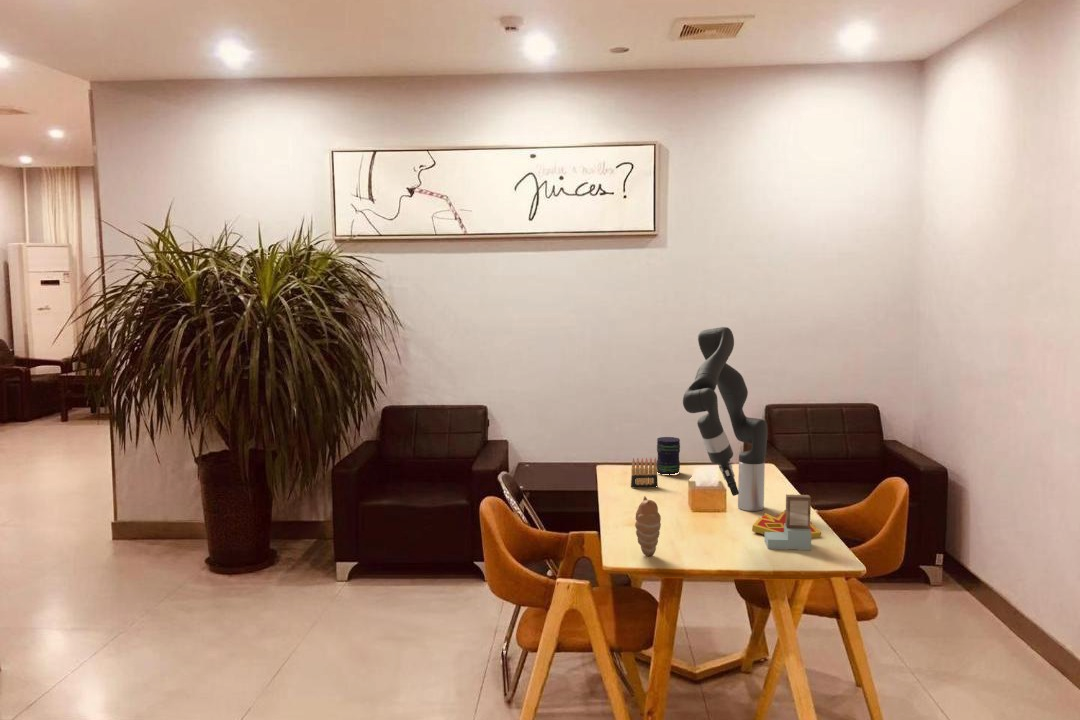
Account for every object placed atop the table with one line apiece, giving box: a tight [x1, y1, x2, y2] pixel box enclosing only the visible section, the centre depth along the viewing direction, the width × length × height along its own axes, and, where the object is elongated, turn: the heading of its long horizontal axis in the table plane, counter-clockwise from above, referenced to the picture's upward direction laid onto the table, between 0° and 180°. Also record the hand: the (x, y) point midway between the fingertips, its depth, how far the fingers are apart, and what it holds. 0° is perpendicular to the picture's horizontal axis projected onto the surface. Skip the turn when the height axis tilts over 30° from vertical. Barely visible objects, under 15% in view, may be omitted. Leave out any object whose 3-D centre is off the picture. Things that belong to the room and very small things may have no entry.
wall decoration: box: [751, 509, 822, 539], centre depth 290 cm, size 22×31×4 cm
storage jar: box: [656, 436, 681, 475], centre depth 368 cm, size 10×10×15 cm
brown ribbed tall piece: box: [634, 495, 662, 557], centre depth 260 cm, size 9×8×18 cm
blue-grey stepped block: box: [764, 523, 812, 551], centre depth 270 cm, size 8×13×6 cm, turn 83°
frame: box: [785, 494, 812, 529], centre depth 269 cm, size 3×7×10 cm, turn 83°
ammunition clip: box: [630, 457, 659, 488], centre depth 345 cm, size 11×2×12 cm, turn 93°
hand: (733, 488), depth 276 cm, fingers open, 8 cm apart
